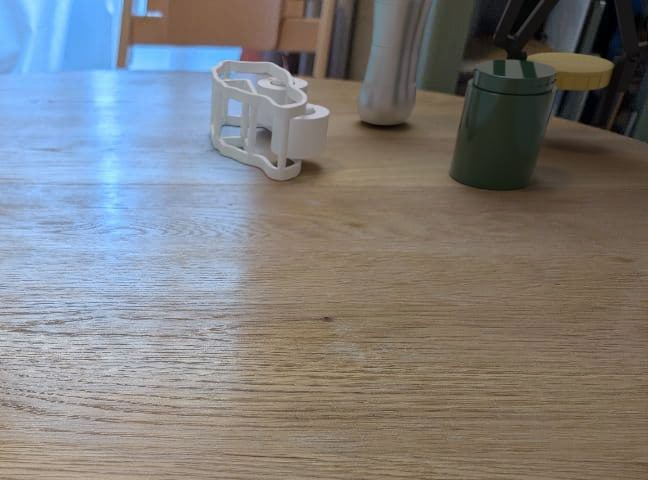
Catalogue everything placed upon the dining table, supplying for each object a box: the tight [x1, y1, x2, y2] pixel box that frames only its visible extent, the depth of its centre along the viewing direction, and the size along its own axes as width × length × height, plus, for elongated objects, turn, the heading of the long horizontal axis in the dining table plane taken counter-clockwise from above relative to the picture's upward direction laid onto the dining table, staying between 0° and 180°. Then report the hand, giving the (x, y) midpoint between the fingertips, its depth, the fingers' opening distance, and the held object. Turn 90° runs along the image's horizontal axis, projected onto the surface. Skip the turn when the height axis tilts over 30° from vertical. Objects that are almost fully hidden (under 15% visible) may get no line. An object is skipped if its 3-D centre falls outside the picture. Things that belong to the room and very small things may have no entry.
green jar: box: [448, 59, 558, 191], centre depth 84 cm, size 8×8×10 cm
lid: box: [526, 51, 614, 91], centre depth 91 cm, size 9×9×2 cm
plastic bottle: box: [356, 0, 433, 126], centre depth 96 cm, size 6×7×20 cm
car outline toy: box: [209, 59, 330, 182], centre depth 93 cm, size 20×11×7 cm, turn 1°
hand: (553, 118), depth 93 cm, fingers closed on lid, 9 cm apart
